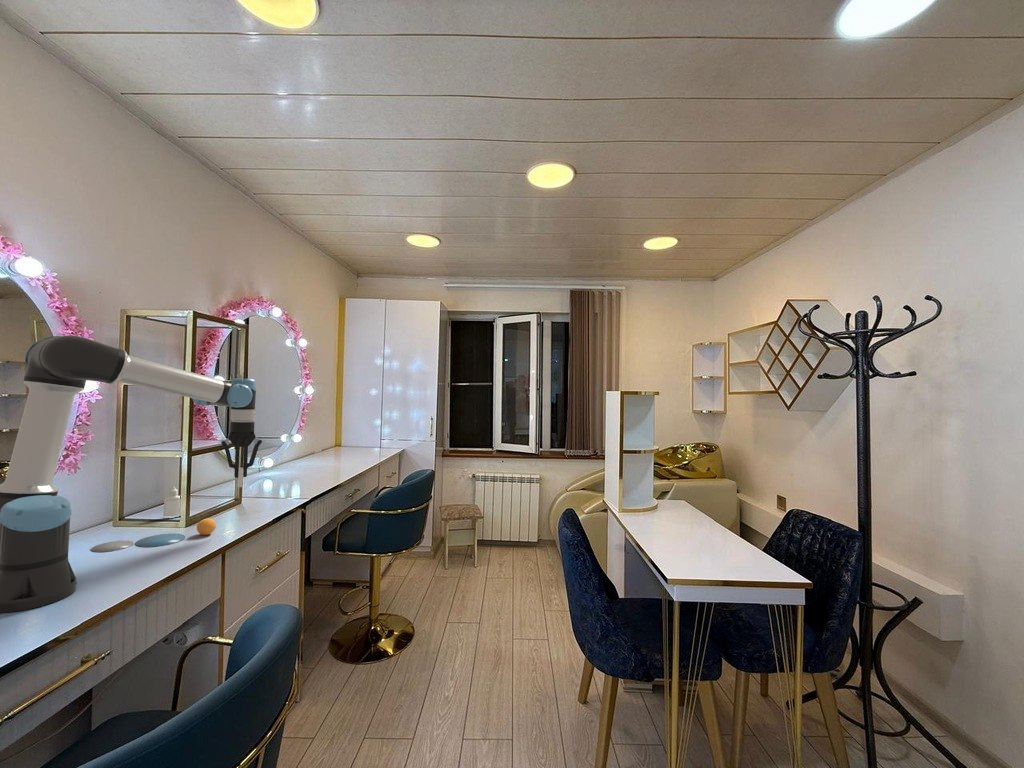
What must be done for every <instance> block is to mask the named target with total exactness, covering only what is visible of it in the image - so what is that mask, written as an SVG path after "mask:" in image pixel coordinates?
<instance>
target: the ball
mask: <svg viewBox="0 0 1024 768" xmlns="http://www.w3.org/2000/svg"><path fill="white" fill-rule="evenodd" d="M216 526H217V524H216V521H215V520H214V519H212V518H204V519H202V520H200V521H199V522H198V523H197V525H196V531H197V532H198V534H200V535H202V536H207V535H210V534H212V533H213V532H215V530H216V528H217V527H216Z"/></svg>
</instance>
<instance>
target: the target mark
mask: <svg viewBox="0 0 1024 768" xmlns="http://www.w3.org/2000/svg"><path fill="white" fill-rule="evenodd" d="M185 537H186V535H185V534H182V533H172V532H171V533H161V534H155V535H150V536H146V537H143V538H141V539H139V540H136V541H135V546H136V547H139V548H156V547H164V545H165V546H170V545H173V544H176V543H180V542H181V541H183V540H185Z"/></svg>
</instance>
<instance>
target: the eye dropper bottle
mask: <svg viewBox="0 0 1024 768" xmlns="http://www.w3.org/2000/svg"><path fill="white" fill-rule="evenodd" d="M178 494H179V490H178V489H176V486H172V489H170V490H169V496H166V497H165V498H164V503H163V504H164V505H163V517H164V516H175V515H178V514H179V508H180V496H181V495H178Z"/></svg>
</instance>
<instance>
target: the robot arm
mask: <svg viewBox="0 0 1024 768" xmlns="http://www.w3.org/2000/svg"><path fill="white" fill-rule="evenodd" d="M24 362H25V367H26V370H25V373H24V376H23V381H22V382H23V384H24V385H25V386H26V387H27V388H28V389H29V391H28V394H27V397H26V403H25V405H24V409H23V413H22V416H21V420H20V424H19V428H18V432H17V435H16V438H15V442H14V446H13V451H12V454H11V457H10V462H9V465H8V468H7V472H6V476H5V480H4V482H2V483H1V484H0V614H2V613H12V612H20V611H26V610H31V609H35V608H40V607H42V606H47V605H50V604H52V603H55V602H59V601H60V600H63V599H65V598H67V597H69V596H70V595H72V594H73V593H75V592H76V590H77V585H78V584H77V581H78V579H77V578H76V576H75V573H74V570H73V568H72V566H71V563H70V561H69V544H70V530H71V527H70V526H71V516H72V508H71V502H70V501H69V499H67V498H66V497H64V496H59V495H58V493H59V488H58V487H57V486H56V485H55V484H54V483H53V481H54V478H55V474H56V470H57V467H58V462H59V457H60V455H61V454H60V453H61V451H62V446H63V442H64V438H65V435H66V430H67V427H68V422H69V420H70V415H71V410H72V407H73V404H74V399H75V395H76V394H78V393H80V392H83V391H84V390H85V386H86V383H87V381H92V382H98V383H105V384H109V385H113V384H114V383H122V384H128V385H132V386H135V387H142V388H145V389H150V390H154V391H158V392H163V393H169V394H173V395H177V396H181V397H185V398H189V399H192V401H193V403H194V404H195V405H197V406H219V407H230V421H231V422H230V425H229V435H228V436H227V438H226V439H224V440H221V441H220V443H221V445H222V447H223V448H224V452H225V456H226V458H227V459H226V460H227V463H228V466H229V468H230V469H231V468H232V469H234V470H233V471H234V476H233V477H234V478H235V479H236V478H237V488H244V478H247V475H248V468H250V467H253V466H254V463H255V460H256V456H257V453H258V450H259V448H260V446H261V444H262V443H263V440H262V439H259V438H258V437H257V436H256V434H255V420H256V419H255V417H256V396H257V395H256V394H257V383H256V380H255V379H254V378H238V377H237V378H235V377H233V378H232V380H231V382H229V381H225V380H221V379H218V378H215V377H210V376H207V375H202V374H200V373H196V372H192V371H188V370H184V369H180V368H176V367H173V366H169V365H166V364H162V363H158V362H154V361H150V360H148V359H143V358H139V357H136V356H132V355H129V354H128V353H127V351H126V350H125V349H120V348H117V347H114V346H111V345H107V344H104V343H102V342H99V341H96V340H93V339H90V338H87V337H83V336H79V335H72V334H71V335H70V334H69V335H62V336H61V335H54V336H48V337H47V336H46V337H44V338H41V339H38V340H37V341H35V342H34V343H32V344H31V346H29V347H28V349H27V350H26V353H25V355H24ZM230 443H231V444H232V445H233V447H234V463H233V459H232V456H231V452H230V447H229V445H230ZM252 443H254V446H253V449H252V453H251V455H250V458H249V461H248V456H249V455H248V454H249V446H250V445H252ZM241 447H242V448H243V452H242V453H243V455H242V457H243V458H242V459H243V460H242V467H240V451H241V450H240V449H241Z"/></svg>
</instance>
